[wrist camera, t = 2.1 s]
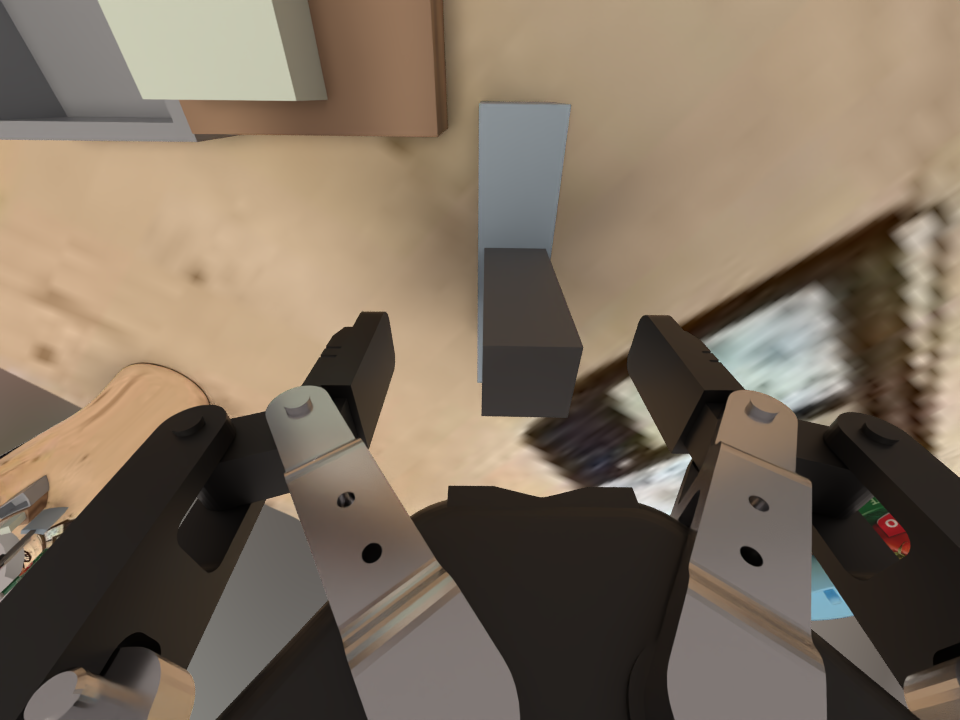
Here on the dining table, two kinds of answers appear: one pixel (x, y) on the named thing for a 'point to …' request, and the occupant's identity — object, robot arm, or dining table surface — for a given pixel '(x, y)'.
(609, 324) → the dining table surface
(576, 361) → the scraper
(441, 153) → the dining table surface
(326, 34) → the brown wooden block
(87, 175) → the dining table surface
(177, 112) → the box
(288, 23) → the tile
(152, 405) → the beer glass
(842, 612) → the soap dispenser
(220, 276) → the dining table surface
